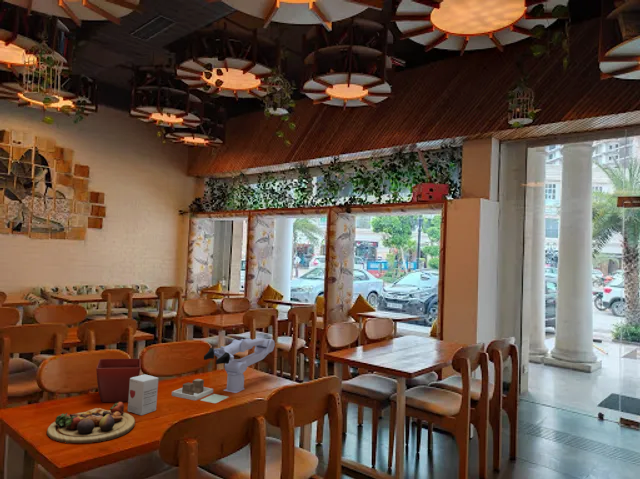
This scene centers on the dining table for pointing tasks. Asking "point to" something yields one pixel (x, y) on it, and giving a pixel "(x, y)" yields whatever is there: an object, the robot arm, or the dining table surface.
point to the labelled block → (198, 385)
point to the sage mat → (214, 398)
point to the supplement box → (142, 394)
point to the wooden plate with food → (91, 425)
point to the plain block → (188, 388)
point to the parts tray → (192, 397)
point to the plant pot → (116, 378)
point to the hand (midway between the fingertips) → (210, 360)
